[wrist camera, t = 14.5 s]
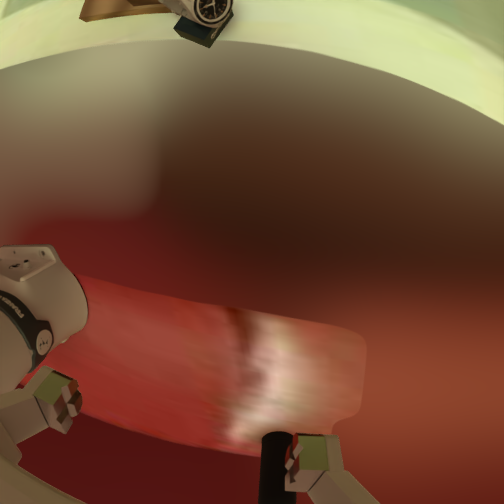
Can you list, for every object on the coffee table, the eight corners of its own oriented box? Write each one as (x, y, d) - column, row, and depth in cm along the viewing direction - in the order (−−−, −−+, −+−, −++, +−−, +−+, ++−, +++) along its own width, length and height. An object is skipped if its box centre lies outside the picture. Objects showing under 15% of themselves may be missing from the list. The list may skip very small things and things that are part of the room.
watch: (223, 54, 30) (203, 19, 19) (169, 32, 29) (134, -2, 19) (247, 20, 28) (237, -23, 18) (193, -1, 27) (167, -42, 17)
